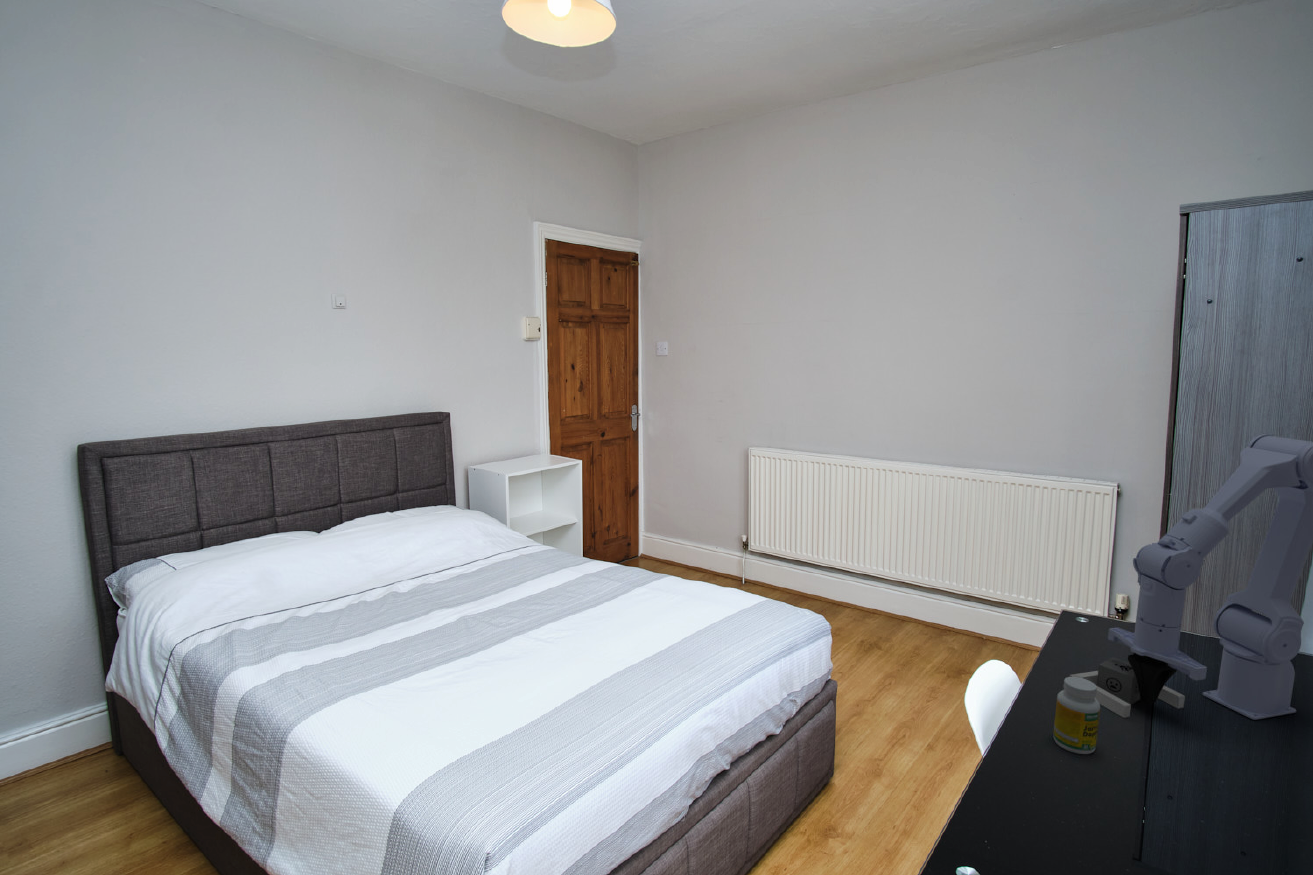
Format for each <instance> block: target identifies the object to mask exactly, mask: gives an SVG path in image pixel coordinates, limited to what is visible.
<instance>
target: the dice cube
mask: <svg viewBox="0 0 1313 875" xmlns="http://www.w3.org/2000/svg"><path fill="white" fill-rule="evenodd" d="M1097 671H1098V677H1097V686H1098V687H1100V688H1101V689H1103V690H1105V691H1107V692H1109V693H1110V694H1112V695H1114V696H1116V697H1118V698H1119V699H1121V700H1123V701H1125V702H1127V703H1128V704H1130V705H1131V706H1132V705H1134V704H1135V703H1137V702H1138V701H1141V699H1140V693H1139V688H1138V683H1137V679H1136V676H1135V673H1134V671H1133V668H1132V666H1131V664H1130V663H1129V661H1125V660H1121V659H1120V658H1116V657H1110V658H1109V659H1107V660H1105V661H1102V662H1101V663H1099V664H1098V670H1097Z"/></svg>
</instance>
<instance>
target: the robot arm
mask: <svg viewBox="0 0 1313 875" xmlns="http://www.w3.org/2000/svg"><path fill="white" fill-rule="evenodd" d="M1267 489H1273V490H1274V491H1275V493H1276V494H1277V496H1278V498H1279V500H1278V503H1277V505H1276V506H1277V507H1276V509H1275V512H1274V514H1273V517H1272V520H1271V522H1270V525H1269V527H1268V530H1267V532H1266V535H1265V538H1264V540H1263V543H1262V545H1261V549H1260V551H1259V554H1258V556H1257V560H1256V562H1255V564H1254V566H1253V570H1252V572H1251V575H1250V578H1249V580H1248V583H1247V585H1246V588H1245V589H1243V590H1241V591H1237V592H1234V593H1231V594H1228V595H1227V597H1226V599H1225V602H1224V604H1223V605H1222V607H1220V608H1219V610H1218V611H1217V612H1216V613H1215V615H1214V618H1213V621H1212V627H1213V632H1214V633H1215V634H1216V636H1218V637H1219V638H1220V639H1219V644H1220V645H1221V646H1222V647H1223V649H1222V654H1221V663H1220V669H1219V677H1218V682H1217V683H1218V684H1217V688H1216V689H1214V690H1213V689H1212V690H1209V691H1208V690H1207V691H1203V692H1202V695H1203V696H1204V697H1205V698H1208V699H1210V700H1212V701H1214V702H1216V703H1218V704H1220V705H1222V706H1225V707H1226V708H1228V709H1230V710H1233V711H1235V713H1238V714H1241V715H1243V716H1245V717H1247V718H1249V719H1251V720H1255V721H1256V720H1257V721H1258V720H1262V719H1268V718H1272V717H1273V718H1274V717H1277V716H1278V717H1279V716H1285V715H1288V714H1289V715H1290V714H1294V713H1297V710H1296V708H1294V707H1292V706H1291V703H1292V702H1291V700H1292V695H1293V688H1294V682H1295V676H1296V674H1295V672H1296V671H1295V668H1294V665H1293V663H1292V661H1291V660H1292V659H1293V658H1295V657H1296V656H1297V655H1298V654H1299V651H1301V647H1302V630H1303V626H1304V624H1305V622H1304V620H1303V619H1302V617H1301V616H1300V615H1299V613H1298V612H1297V610H1296V609H1294V607H1293V606H1292V604H1291V602H1292V601H1291V600H1292V598H1293V595H1294V594H1295V590H1296V588H1297V586H1298V583H1299V580H1300V577H1301V575H1302V572H1303V570H1304V566H1305V564H1306V562H1307V560H1308V556H1309V554H1310V551H1311V549H1312V547H1313V441H1310V440H1303V439H1296V438H1288V437H1282V436H1277V435H1273V434H1267V433H1263V434H1259V435H1257V436H1255V437H1254V438H1252V439H1251V441H1250V442H1249V443H1248V444H1247V446H1246V447H1245V448H1244V449H1242V450H1241V451H1240V454H1239V465H1238V467H1237V468H1236V469H1235V470H1234V472H1233V473H1232V474H1231V476H1230V477H1229V478H1228V479H1227V480H1226V481H1225V483H1224V484H1223V485H1222V486H1221V488H1220V489H1218V491H1217V492H1216V494H1214V496H1213V497H1212V498H1211V500H1209V502H1207V504H1206V505H1205V506H1204V507H1202V508H1193V509H1189V510H1188V512H1187V511H1185V513H1183V515H1182V516H1181V518H1180V519H1179V521H1177V522H1176V524H1174V526H1172V527H1171V528H1170V529H1169V530H1168V531H1167V532H1166V533H1165V534H1164V535H1163V536H1162V537H1161V538H1160V539H1159V540H1158V541H1157V542H1151V543H1148V544H1146V545H1144V546H1143V547H1141V548H1140V549H1139V550H1138V552H1137V554H1136V557H1134V558H1133V559H1132V564H1133V565H1132V566H1133V569H1134V570H1135V572H1136V573H1137V583H1138V586H1139V593H1138V598H1137V599H1138V600H1137V609H1136V616H1135V626H1134V632H1131V631H1128V630H1125V629H1122V628H1120V627H1112V628H1109V629H1108V635H1107V639H1108V640H1109V641H1111V642H1113V643H1115V642H1117V643H1119V644H1121V645H1124V646H1126V647H1128V648H1130V652H1132V653H1133V654H1129V655H1127V662H1128V663H1130V664H1131V666H1132V668H1133V671H1134V673H1135V676H1136V679H1137V683H1138V688H1139V693H1140V701H1142V702H1143V703H1145V704H1151V703H1156V702H1157V700H1158V699H1159V698H1158V696H1159V694H1160V692H1161V690H1162V688H1163V686H1165V685H1166V684H1167V682H1168V680H1170V679H1171V677H1173V675H1175V674H1176V673H1177V671H1179V672H1181V673H1183V674H1185V675H1188V678H1190V679H1191V680H1193V681H1202V680H1206V678H1207V670H1208V669H1207V668H1208V667H1207V666H1205V665H1203V664H1201V663H1200V662H1198V661H1197V660H1195V659H1193V658H1191V657H1190V656H1188V655H1187V654H1185V653H1184V652H1182V651H1181V650H1179V645H1180V644H1179V643H1180V638H1181V630H1182V622H1183V616H1184V615H1183V614H1184V606H1185V599H1186V592H1187V588H1189V587H1190V586H1192V585H1193V584H1194V583H1196V582H1197V580H1198V579H1199V576H1200V573H1201V568H1202V567H1203V565H1205V563H1204V562H1205V557H1206V556H1208V555H1209V554H1210V553H1211V552H1212V551H1213V550H1214V548H1216V547H1217V546H1218V545H1219V543H1221V542H1222V541H1223V540H1224V539H1225V538H1226V537H1227V536H1228V534H1229V526H1228V525H1229V524H1228V522H1230V520H1231V519H1233V518H1234V517H1235V516H1236V515H1238V514H1239V513H1240V512H1241V511H1242V510H1244V509H1245V508H1246V507H1247V506H1248V505H1249V504H1251V503H1252V502H1253V501H1254V500H1255V499H1257V497H1259V496H1260V495H1261V494H1263V492H1265V491H1266V490H1267Z"/></svg>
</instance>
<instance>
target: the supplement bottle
mask: <svg viewBox="0 0 1313 875" xmlns="http://www.w3.org/2000/svg"><path fill="white" fill-rule="evenodd" d="M1096 692H1097V687H1096V685H1095V684H1094V683H1092V682H1091V681H1089V680H1086V679H1083V678H1079V677H1070V676H1067V677H1065V678H1064V680H1063V689H1062V690H1060V691H1059V692H1058V694H1057V696H1056V705H1055V706H1056V707H1055V715H1054V717H1055V718H1054V725H1053V726H1054V727H1053V735H1052V736H1053V739H1054V742H1055V743H1056V744H1057V745H1058V746H1059V747H1060V748H1062V749H1064V750H1066V751H1068V752H1071V753H1074V754H1078V755H1090V754H1092V753H1094V752H1095V750H1096V747H1097V740H1098V739H1097V738H1098V732H1099V723H1100V721H1099V720H1100V715H1101V714H1100V713H1101V704H1099V702H1098V700H1097V699H1096V698H1095V696H1096Z"/></svg>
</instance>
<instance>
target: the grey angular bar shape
mask: <svg viewBox="0 0 1313 875" xmlns="http://www.w3.org/2000/svg"><path fill="white" fill-rule="evenodd" d="M1069 677H1079V678H1083V679H1086V680H1089V681H1091V682H1092V683H1094V684H1095V685H1096V687H1097V692H1096V696H1095V698H1096V699H1097V700H1098V702H1099V704H1100V706H1103V707H1105V708H1106V709H1107V710H1110V711H1111V712H1113V713H1115V714H1117V715H1118V716H1120V717H1122V718H1123V719H1124V718H1126V719H1127V718H1130V715H1131V707H1132V705H1130V704H1128V703H1127V702H1125V701H1123V700H1121V699H1119V698H1118V697H1116V696H1114V695H1112V694H1110V693H1109V692H1107V691H1105V690H1103V689H1101V688H1100V687H1098V686H1097V677H1098V670H1094V671H1093V670H1092V671H1089V672H1087V671H1086V672H1080V673H1073V674H1069ZM1157 699H1158V700H1161V701H1162V702H1164V703H1166V704H1168V705H1170V706H1172V707H1174V708H1175V709H1183V708H1184V706H1185V700H1186V696H1185V695H1183V694H1182V693H1180V692H1178V691H1176V690H1175V689H1172V688H1170V687H1168V686H1165V685H1164V686H1163V688H1162V690H1161V692H1160V694H1159V696H1158V698H1157Z"/></svg>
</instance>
